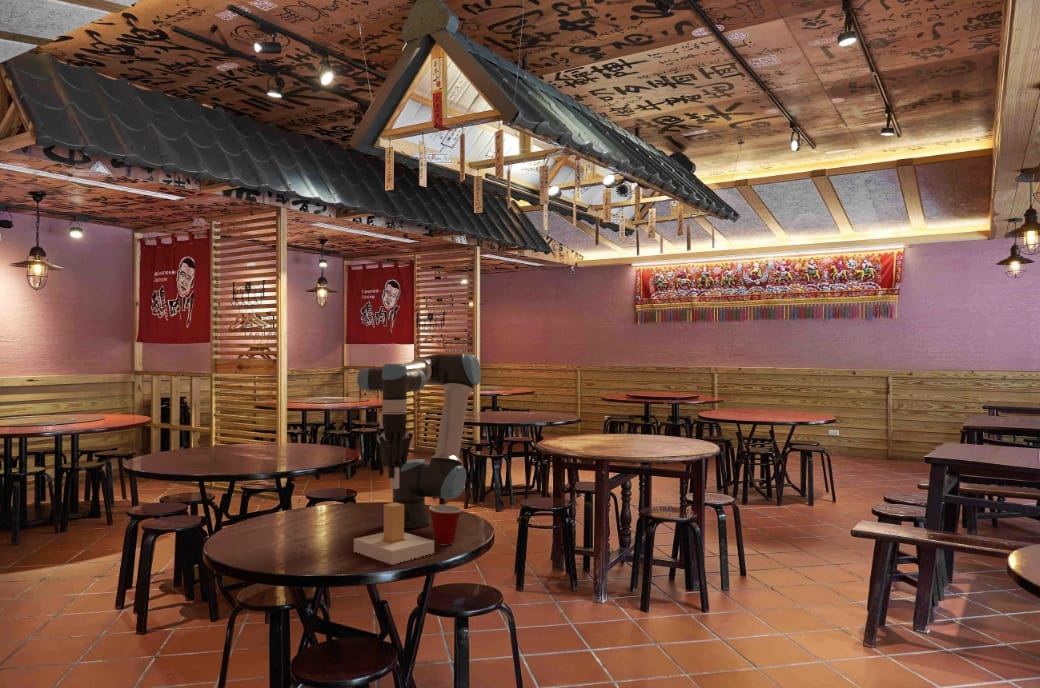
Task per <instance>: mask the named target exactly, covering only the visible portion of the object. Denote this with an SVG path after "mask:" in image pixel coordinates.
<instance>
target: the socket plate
mask: <svg viewBox="0 0 1040 688" xmlns="http://www.w3.org/2000/svg"><path fill="white" fill-rule="evenodd" d="M356 552H357V554H359V553H360V554H359V555H363V556H365V557H369V558H371V559H374V560H378V561H380V562H383V563H385V564H388V565H392V566H393V565H397V564H400V562H401V563H404V561H405V562H408V561H412V560H415V559H414V558H416V559H420V558H422V557H421V556H424V557H426V556H425V555H428V554H431V555H433V554H432V553H434V554H435V540H432V539H428V538H425V537H421V536H419V535H415V534H411V533H408V532H405V531H404V541H400V542H396V543H389V542H385V541H384V531H383V532H378V533H375V534H370V535H366V536H361V537H356V538H353V553H356ZM428 556H429V555H428ZM419 557H420V558H419ZM411 559H412V560H411Z"/></svg>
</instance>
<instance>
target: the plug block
mask: <svg viewBox="0 0 1040 688" xmlns="http://www.w3.org/2000/svg"><path fill="white" fill-rule="evenodd" d="M383 532H384V541H385V542H389V543H396V542H400V541H404V532H405V529H404V504H400V503H396V502H395V503H393V502H391V503H385V504H383Z"/></svg>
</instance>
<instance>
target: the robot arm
mask: <svg viewBox="0 0 1040 688" xmlns="http://www.w3.org/2000/svg"><path fill="white" fill-rule="evenodd" d="M356 380H357V381H356V382H357V386H358V388H359V389H360V390H361V391H366V392H382V403H381V404H382V413H383V414H382V427H383V429H382V430H381V434H380V435H379V436H376V437H375V440H376V442H377V443H378V447H379V448H378V449H379V453H380V458H381V463H382V466H384V467H387V469H388V478H389V484H390V489H392V503H395V502H396V503H400V504H404V528H414V529H417V528H416V527H421V528H423V527H422V526H425V525H427V524H429V523H431V521H430V517H431V516H430V515H429V512H428V509H427V505H426V498H435V499H436V498H437V499H444V500H446V499H451V500H452V499H457V498H459V496H460V495H461V494H462V493H463V491H464V489H465V486H466V482H467V470H466V468H465V467H464V466H463V461H462V460H461V458H460V452H461V447H462V446H461V445H462V439H463V434H464V433H463V431H464V427H465V426H464V425H465V418H466V413H467V405H468V398H469V395H470V394H471V393H472V392H474V387H476V386H478V385H479V384H480V382H481V380H482V370H481V364H480V361H479V360H478V358H477V356H476V355H474V354H469V353H467V354H466V353H436V354H435V353H434V354H432V355H431V354H429V355H425V356H422V357H418V358H414V359H413V360H412V361H410V362H405V363H404V362H403V363H385V364H383V365H382V367H367V368H362V369H360V370H359V371H358V374H357V377H356ZM426 384H432V385H433V384H435V385H442V387H441V388H442V389H444V391H445V394H444V399H443V406H442V412H441V418H440V424H439V430H438V436H437V443H436V448H435V449H436V450H435V453H434V455H432V456H431V457H430V459H429V463H427V462H426V460H425V459H422V458H419V459H408V456H409V451H410V445H411V441H412V439H413V436H414V435H413V433H412V432H409V431H408V428H407V426H406V425H407V424H408V421H407V420H408V417H407V415H408V414H407V413H406V412H407V411H408V408H407V407H408V403H407V402H408V401H407V399H408V398H407V397H408V396H407V393H411V392H413V393H414V392H418V391H420V390H423V388H424V387H425V386H426ZM429 525H430V524H429ZM427 526H428V525H427ZM425 527H426V526H425Z"/></svg>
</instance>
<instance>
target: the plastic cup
mask: <svg viewBox="0 0 1040 688" xmlns="http://www.w3.org/2000/svg"><path fill="white" fill-rule="evenodd" d="M428 508H429V510H430V514H431V516H430V517H431V521H432V528H433V534H434V539H435V540H434V542H435V544H436V543H437V544H450V543H453V542H454V543H455V538H456V533H457V528H458V523H459V518H460V515H461V512H463V508H462V507H460V506H457V505H456V506H455V505H451V504H434V505H430V506H429V507H428ZM454 543H453V544H454ZM437 544H436V545H437Z"/></svg>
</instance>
